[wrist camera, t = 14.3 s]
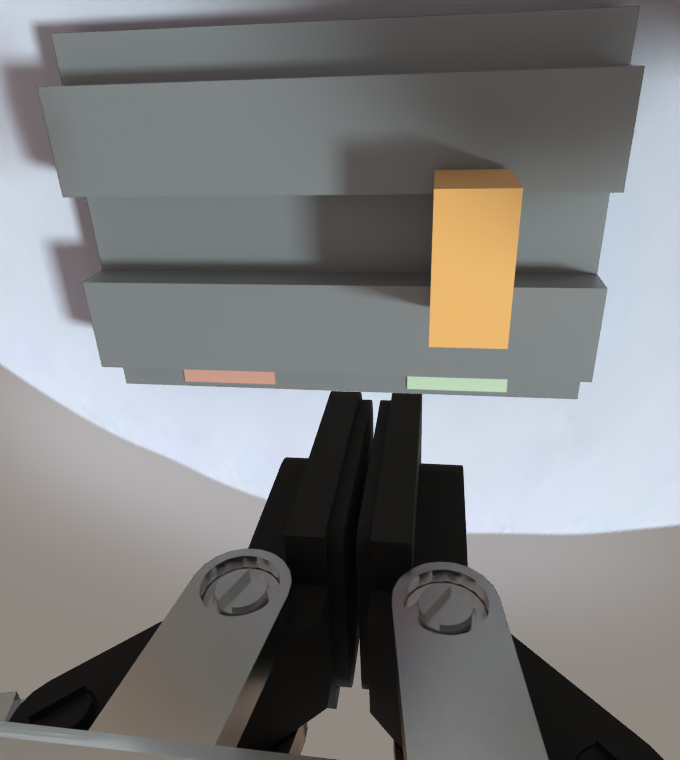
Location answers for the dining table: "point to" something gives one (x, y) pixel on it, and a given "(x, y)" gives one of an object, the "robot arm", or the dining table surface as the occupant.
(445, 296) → the switch knob
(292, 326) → the grey slotted track
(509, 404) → the dining table surface
